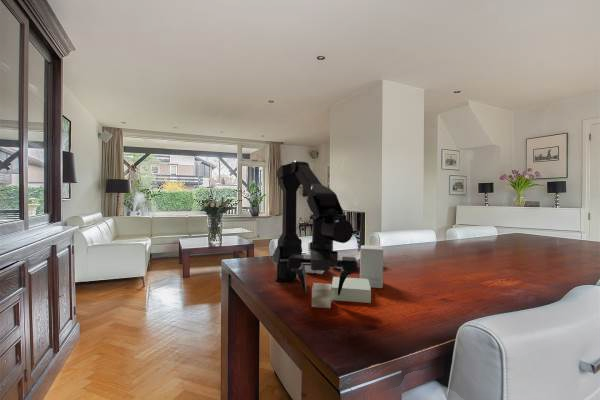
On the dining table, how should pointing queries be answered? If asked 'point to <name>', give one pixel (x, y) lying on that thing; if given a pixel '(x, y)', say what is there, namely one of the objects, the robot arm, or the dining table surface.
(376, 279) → the supplement box
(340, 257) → the spoon rest
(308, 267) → the medicine bottle
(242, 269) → the dining table surface
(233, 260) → the dining table surface
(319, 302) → the cream block
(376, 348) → the dining table surface
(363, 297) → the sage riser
